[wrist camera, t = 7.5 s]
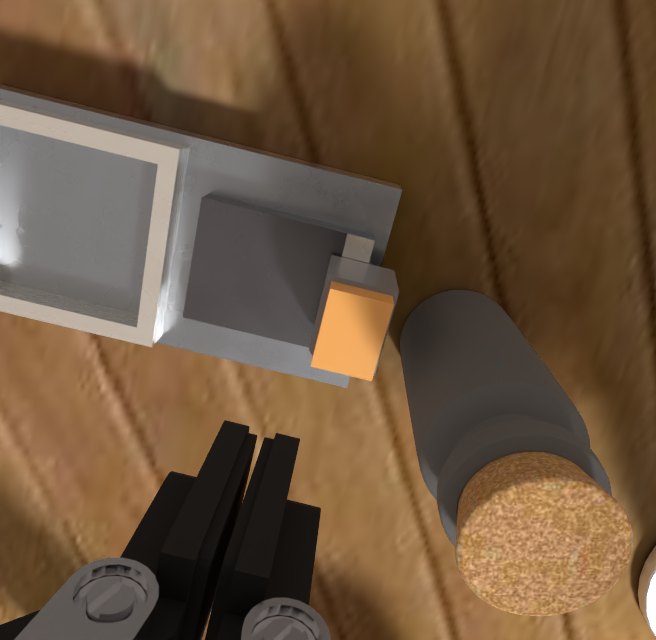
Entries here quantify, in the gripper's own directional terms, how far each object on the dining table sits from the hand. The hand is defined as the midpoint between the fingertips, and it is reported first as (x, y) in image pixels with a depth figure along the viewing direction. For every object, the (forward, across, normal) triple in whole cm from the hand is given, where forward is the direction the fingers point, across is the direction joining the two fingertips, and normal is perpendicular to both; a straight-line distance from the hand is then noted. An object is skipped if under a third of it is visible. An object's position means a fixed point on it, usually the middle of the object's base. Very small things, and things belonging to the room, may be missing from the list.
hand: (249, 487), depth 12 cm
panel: (+17, +7, 0) cm, 19 cm away
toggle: (+14, -2, 0) cm, 14 cm away
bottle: (+18, -8, +2) cm, 19 cm away
